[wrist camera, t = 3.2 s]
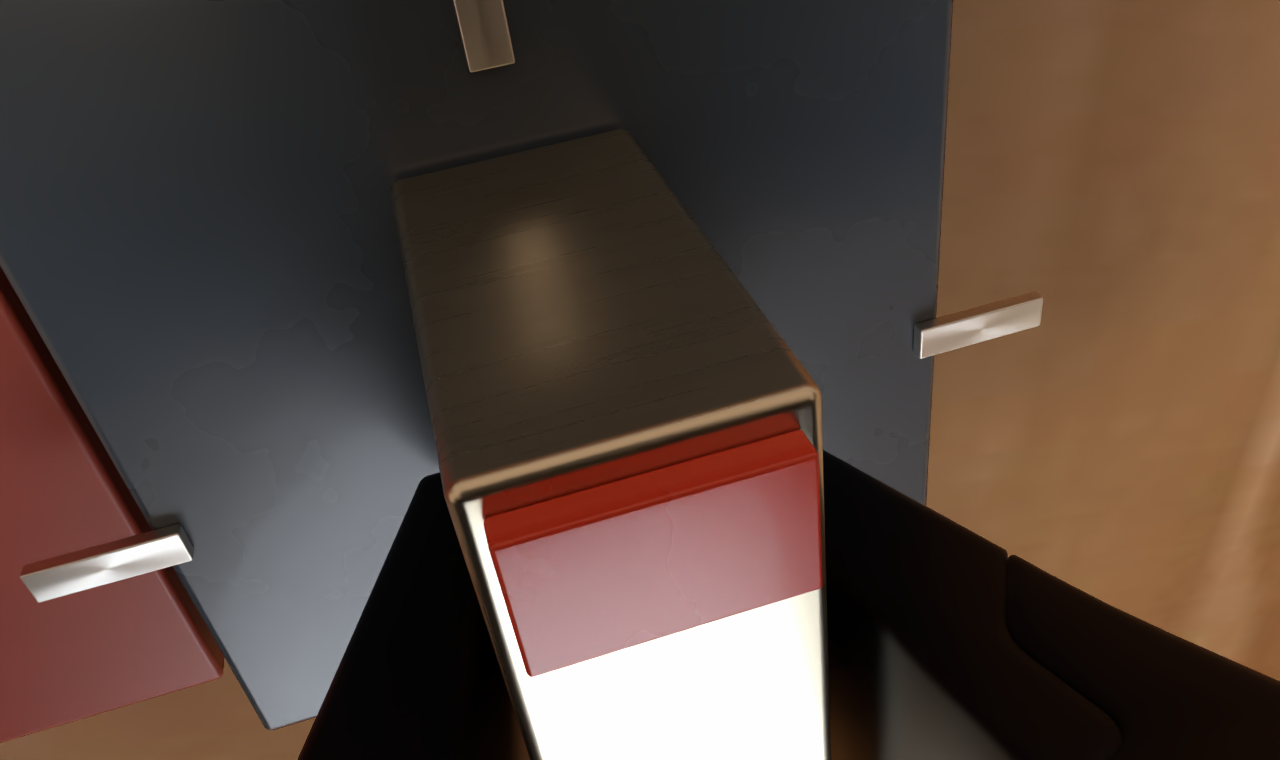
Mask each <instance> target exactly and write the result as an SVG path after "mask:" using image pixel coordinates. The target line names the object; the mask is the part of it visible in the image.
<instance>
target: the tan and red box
mask: <svg viewBox="0 0 1280 760" xmlns="http://www.w3.org/2000/svg"><path fill="white" fill-rule="evenodd" d="M391 196H392V202H393V207H394V213H395V219H396V225H397V230H398V236H399V242H400V247H401V253H402V259H403V264H404V270H405V276H406V282H407V287H408V293H409V299H410V304H411V310H412V316H413V322H414V327H415V333H416V339H417V344H418V350H419V356H420V361H421V367H422V373H423V379H424V384H425V390H426V396H427V401H428V407H429V413H430V419H431V424H432V430H433V436H434V441H435V447H436V453H437V458H438V464H439V470H440V476H441V481H442V487H443V493H444V498H445V501H446V504H447V507H448V510H449V513H450V516H451V519H452V522H453V525H454V528H455V531H456V534H457V537H458V540H459V544H460V547H461V550H462V553H463V556H464V559H465V562H466V565H467V568H468V571H469V574H470V577H471V580H472V583H473V586H474V589H475V592H476V595H477V599H478V602H479V605H480V608H481V611H482V614H483V617H484V620H485V623H486V626H487V629H488V632H489V635H490V638H491V641H492V644H493V647H494V651H495V654H496V657H497V660H498V663H499V666H500V669H501V672H502V675H503V678H504V681H505V684H506V687H507V690H508V693H509V696H510V699H511V702H512V706H513V709H514V712H515V715H516V718H517V721H518V724H519V727H520V730H521V733H522V736H523V739H524V742H525V745H526V748H527V751H528V754H529V757H530V760H831V736H830V699H829V663H828V627H827V590H826V554H825V517H824V481H823V444H822V408H821V391H820V390H819V388H818V386H817V385H816V383H815V382H814V380H813V379H812V378H811V376H810V375H809V374H808V372H807V371H806V370H805V368H804V367H803V366H802V364H801V363H800V362H799V360H798V359H797V357H796V356H795V355H794V353H793V352H792V351H791V349H790V348H789V347H788V345H787V344H786V343H785V341H784V340H783V339H782V337H781V336H780V335H779V333H778V332H777V331H776V329H775V328H774V327H773V325H772V324H771V323H770V321H769V320H768V319H767V317H766V316H765V315H764V313H763V312H762V310H761V309H760V308H759V306H758V305H757V304H756V302H755V301H754V300H753V298H752V297H751V296H750V294H749V293H748V292H747V290H746V289H745V288H744V286H743V285H742V284H741V282H740V281H739V280H738V278H737V277H736V276H735V274H734V273H733V272H732V270H731V269H730V268H729V266H728V265H727V263H726V262H725V261H724V259H723V258H722V257H721V255H720V254H719V253H718V251H717V250H716V249H715V247H714V246H713V245H712V243H711V242H710V241H709V239H708V238H707V237H706V235H705V234H704V233H703V231H702V230H701V229H700V227H699V226H698V225H697V223H696V222H695V221H694V219H693V218H692V216H691V215H690V214H689V212H688V211H687V210H686V208H685V207H684V206H683V204H682V203H681V202H680V200H679V199H678V198H677V196H676V195H675V194H674V192H673V191H672V190H671V188H670V187H669V186H668V184H667V183H666V182H665V180H664V179H663V178H662V176H661V175H660V174H659V172H658V171H657V169H656V168H655V167H654V165H653V164H652V163H651V161H650V160H649V159H648V157H647V156H646V155H645V153H644V152H643V151H642V149H641V148H640V147H639V145H638V144H637V143H636V141H635V140H634V139H633V137H632V136H631V135H630V133H629V132H628V131H627V130H621V129H618V130H613V131H609V132H605V133H600V134H596V135H592V136H587V137H583V138H579V139H574V140H570V141H566V142H561V143H557V144H553V145H548V146H544V147H539V148H535V149H531V150H526V151H522V152H518V153H513V154H509V155H505V156H500V157H496V158H492V159H487V160H483V161H479V162H474V163H470V164H466V165H461V166H457V167H453V168H448V169H444V170H440V171H435V172H431V173H426V174H422V175H418V176H413V177H409V178H405V179H400V180H398V181H397V182H395V183H394V184H393V185H392V190H391Z"/></svg>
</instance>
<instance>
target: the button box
mask: <svg viewBox="0 0 1280 760" xmlns="http://www.w3.org/2000/svg"><path fill="white" fill-rule="evenodd" d="M149 531H152V529H151V528H150V526H149V524H148V522H147V521H146V519H145V517H144V516H143V514H142V512H141V510H140V509H139V507H138V505H137V503H136V502H135V500H134V498H133V496H132V495H131V493H130V491H129V489H128V488H127V486H126V484H125V482H124V481H123V479H122V477H121V475H120V474H119V472H118V470H117V468H116V467H115V465H114V463H113V461H112V460H111V458H110V456H109V454H108V453H107V451H106V449H105V447H104V446H103V444H102V442H101V440H100V439H99V437H98V435H97V433H96V432H95V430H94V428H93V427H92V425H91V423H90V421H89V420H88V418H87V416H86V414H85V413H84V411H83V409H82V407H81V406H80V404H79V402H78V400H77V399H76V397H75V395H74V393H73V392H72V390H71V388H70V386H69V385H68V383H67V381H66V379H65V378H64V376H63V374H62V372H61V371H60V369H59V367H58V365H57V364H56V362H55V360H54V358H53V357H52V355H51V353H50V351H49V350H48V348H47V346H46V344H45V343H44V341H43V339H42V338H41V336H40V334H39V332H38V331H37V329H36V327H35V325H34V324H33V322H32V320H31V318H30V317H29V315H28V313H27V311H26V310H25V308H24V306H23V304H22V303H21V301H20V299H19V297H18V296H17V294H16V292H15V290H14V289H13V287H12V285H11V283H10V282H9V280H8V278H7V276H6V275H5V273H4V271H3V269H2V268H1V266H0V743H1V742H5V741H8V740H12V739H15V738H18V737H22V736H25V735H29V734H32V733H35V732H39V731H42V730H46V729H49V728H52V727H56V726H59V725H62V724H66V723H69V722H73V721H76V720H79V719H83V718H86V717H90V716H93V715H96V714H100V713H103V712H107V711H110V710H113V709H117V708H120V707H124V706H127V705H130V704H134V703H137V702H141V701H144V700H147V699H151V698H154V697H158V696H161V695H164V694H168V693H171V692H175V691H178V690H181V689H185V688H188V687H192V686H195V685H198V684H202V683H205V682H209V681H212V680H215V679H218V678H220V677H221V676H222V674H223V667H224V655H223V653H222V652H221V650H220V648H219V646H218V645H217V643H216V641H215V639H214V638H213V636H212V634H211V632H210V631H209V629H208V627H207V625H206V624H205V622H204V620H203V618H202V617H201V615H200V613H199V612H198V610H197V608H196V606H195V605H194V603H193V601H192V599H191V598H190V596H189V594H188V592H187V591H186V589H185V587H184V585H183V584H182V582H181V580H180V578H179V577H178V575H177V573H176V571H175V570H174V568H173V566H170V567H167V568H163V569H160V570H156V571H152V572H149V573H145V574H142V575H138V576H134V577H131V578H127V579H123V580H120V581H116V582H113V583H109V584H105V585H102V586H98V587H95V588H91V589H87V590H84V591H80V592H77V593H73V594H69V595H66V596H62V597H58V598H55V599H51V600H48V601H44V602H40V603H38V602H37V601H36V599H35V598H34V597H33V595H32V594H31V592H30V591H29V590H28V588H27V587H26V585H25V584H24V582H23V581H22V580H21V578H20V574H21V571H22V568H23V566H24V565H27V564H31V563H34V562H38V561H42V560H45V559H49V558H53V557H57V556H60V555H64V554H68V553H71V552H75V551H79V550H82V549H86V548H90V547H93V546H97V545H101V544H105V543H108V542H112V541H116V540H119V539H123V538H127V537H130V536H134V535H138V534H141V533H145V532H149Z"/></svg>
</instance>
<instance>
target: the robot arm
mask: <svg viewBox="0 0 1280 760" xmlns="http://www.w3.org/2000/svg"><path fill="white" fill-rule="evenodd" d="M823 481H824V517H825V554H826V590H827V627H828V663H829V699H830V736H831V760H1280V681H1277V680H1275V679H1273V678H1271V677H1268V676H1266V675H1264V674H1262V673H1259V672H1257V671H1255V670H1252V669H1250V668H1248V667H1246V666H1243V665H1241V664H1239V663H1237V662H1234V661H1232V660H1230V659H1228V658H1225V657H1223V656H1221V655H1218V654H1216V653H1214V652H1212V651H1209V650H1207V649H1205V648H1203V647H1200V646H1198V645H1196V644H1193V643H1191V642H1189V641H1187V640H1184V639H1182V638H1180V637H1178V636H1175V635H1173V634H1171V633H1169V632H1167V631H1164V630H1162V629H1160V628H1158V627H1156V626H1154V625H1152V624H1149V623H1147V622H1145V621H1143V620H1141V619H1139V618H1137V617H1134V616H1132V615H1130V614H1128V613H1126V612H1124V611H1121V610H1119V609H1117V608H1115V607H1113V606H1111V605H1109V604H1107V603H1105V602H1103V601H1101V600H1099V599H1097V598H1095V597H1093V596H1091V595H1089V594H1087V593H1085V592H1083V591H1082V590H1080V589H1078V588H1076V587H1074V586H1072V585H1070V584H1068V583H1066V582H1064V581H1062V580H1060V579H1058V578H1056V577H1055V576H1053V575H1051V574H1049V573H1047V572H1045V571H1043V570H1042V569H1040V568H1038V567H1036V566H1034V565H1033V564H1031V563H1029V562H1027V561H1025V560H1023V559H1022V558H1020V557H1018V556H1016V555H1011V556H1009V557H1008V553H1007V551H1006V550H1005V549H1003V548H1001V547H999V546H997V545H995V544H994V543H992V542H990V541H988V540H986V539H985V538H983V537H981V536H979V535H977V534H976V533H974V532H972V531H970V530H968V529H966V528H965V527H963V526H961V525H959V524H957V523H956V522H954V521H952V520H950V519H948V518H946V517H945V516H943V515H941V514H939V513H937V512H936V511H934V510H932V509H930V508H928V507H926V506H925V505H923V504H921V503H919V502H917V501H916V500H914V499H912V498H910V497H908V496H906V495H905V494H903V493H901V492H899V491H897V490H896V489H894V488H892V487H890V486H888V485H886V484H885V483H883V482H881V481H879V480H877V479H876V478H874V477H872V476H870V475H868V474H866V473H865V472H863V471H861V470H859V469H857V468H856V467H854V466H852V465H850V464H848V463H847V462H845V461H843V460H841V459H839V458H837V457H836V456H834V455H832V454H830V453H828V452H827V451H825V450H823ZM298 760H530V757H529V754H528V751H527V748H526V745H525V742H524V739H523V736H522V733H521V730H520V727H519V724H518V721H517V718H516V715H515V712H514V709H513V706H512V702H511V699H510V696H509V693H508V690H507V687H506V684H505V681H504V678H503V675H502V672H501V669H500V666H499V663H498V660H497V657H496V654H495V651H494V647H493V644H492V641H491V638H490V635H489V632H488V629H487V626H486V623H485V620H484V617H483V614H482V611H481V608H480V605H479V602H478V599H477V595H476V592H475V589H474V586H473V583H472V580H471V577H470V574H469V571H468V568H467V565H466V562H465V559H464V556H463V553H462V550H461V547H460V544H459V540H458V537H457V534H456V531H455V528H454V525H453V522H452V519H451V516H450V513H449V510H448V507H447V504H446V501H445V498H444V493H443V487H442V481H441V476H440V472H439V473H435V474H431V475H428V476H426V477H424V478H423V479H422V480H421V481H420V483H419V485H418V487H417V489H416V491H415V494H414V496H413V498H412V501H411V503H410V505H409V507H408V510H407V512H406V514H405V516H404V519H403V521H402V523H401V526H400V528H399V530H398V532H397V535H396V537H395V539H394V542H393V544H392V546H391V548H390V551H389V553H388V555H387V557H386V560H385V562H384V564H383V567H382V569H381V571H380V573H379V576H378V578H377V580H376V583H375V585H374V587H373V589H372V592H371V594H370V596H369V598H368V601H367V603H366V605H365V608H364V610H363V612H362V614H361V617H360V619H359V621H358V623H357V626H356V628H355V630H354V633H353V635H352V637H351V639H350V642H349V644H348V646H347V648H346V651H345V653H344V655H343V658H342V660H341V662H340V664H339V667H338V669H337V671H336V674H335V676H334V678H333V680H332V683H331V685H330V687H329V689H328V692H327V694H326V696H325V699H324V701H323V703H322V705H321V708H320V710H319V712H318V714H317V717H316V719H315V721H314V724H313V726H312V728H311V730H310V733H309V735H308V737H307V739H306V742H305V744H304V746H303V749H302V751H301V753H300V755H299V758H298Z"/></svg>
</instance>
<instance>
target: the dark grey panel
mask: <svg viewBox="0 0 1280 760" xmlns="http://www.w3.org/2000/svg"><path fill="white" fill-rule="evenodd" d="M952 10H953V0H0V266H1V268H2V269H3V271H4V273H5V275H6V276H7V278H8V280H9V282H10V283H11V285H12V287H13V289H14V290H15V292H16V294H17V296H18V297H19V299H20V301H21V303H22V304H23V306H24V308H25V310H26V311H27V313H28V315H29V317H30V318H31V320H32V322H33V324H34V325H35V327H36V329H37V331H38V332H39V334H40V336H41V338H42V339H43V341H44V343H45V344H46V346H47V348H48V350H49V351H50V353H51V355H52V357H53V358H54V360H55V362H56V364H57V365H58V367H59V369H60V371H61V372H62V374H63V376H64V378H65V379H66V381H67V383H68V385H69V386H70V388H71V390H72V392H73V393H74V395H75V397H76V399H77V400H78V402H79V404H80V406H81V407H82V409H83V411H84V413H85V414H86V416H87V418H88V420H89V421H90V423H91V425H92V427H93V428H94V430H95V432H96V433H97V435H98V437H99V439H100V440H101V442H102V444H103V446H104V447H105V449H106V451H107V453H108V454H109V456H110V458H111V460H112V461H113V463H114V465H115V467H116V468H117V470H118V472H119V474H120V475H121V477H122V479H123V481H124V482H125V484H126V486H127V488H128V489H129V491H130V493H131V495H132V496H133V498H134V500H135V502H136V503H137V505H138V507H139V509H140V510H141V512H142V514H143V516H144V517H145V519H146V521H147V522H148V524H149V526H150V528H151V529H152V531H149V532H145V533H141V534H138V535H134V536H130V537H127V538H123V539H119V540H116V541H112V542H108V543H105V544H101V545H97V546H93V547H90V548H86V549H82V550H79V551H75V552H71V553H68V554H64V555H60V556H57V557H53V558H49V559H45V560H42V561H38V562H34V563H31V564H27V565H24V566H23V568H22V571H21V574H20V578H21V580H22V581H23V582H24V584H25V585H26V587H27V588H28V590H29V591H30V592H31V594H32V595H33V597H34V598H35V599H36V601H37V602H38V603H40V602H44V601H48V600H51V599H55V598H58V597H62V596H66V595H69V594H73V593H77V592H80V591H84V590H87V589H91V588H95V587H98V586H102V585H105V584H109V583H113V582H116V581H120V580H123V579H127V578H131V577H134V576H138V575H142V574H145V573H149V572H152V571H156V570H160V569H163V568H167V567H170V566H173V568H174V570H175V571H176V573H177V575H178V577H179V578H180V580H181V582H182V584H183V585H184V587H185V589H186V591H187V592H188V594H189V596H190V598H191V599H192V601H193V603H194V605H195V606H196V608H197V610H198V612H199V613H200V615H201V617H202V618H203V620H204V622H205V624H206V625H207V627H208V629H209V631H210V632H211V634H212V636H213V638H214V639H215V641H216V643H217V645H218V646H219V648H220V650H221V652H222V653H223V655H224V657H225V659H226V660H227V662H228V664H229V666H230V667H231V669H232V671H233V673H234V674H235V676H236V678H237V680H238V681H239V683H240V685H241V687H242V688H243V690H244V692H245V694H246V695H247V697H248V699H249V701H250V702H251V704H252V706H253V707H254V709H255V711H256V713H257V714H258V716H259V718H260V720H261V721H262V723H263V725H264V727H265V728H266V729H268V730H276V729H279V728H282V727H285V726H289V725H292V724H295V723H299V722H302V721H305V720H308V719H312V718H315V717H317V714H318V712H319V710H320V708H321V705H322V703H323V701H324V699H325V696H326V694H327V692H328V689H329V687H330V685H331V683H332V680H333V678H334V676H335V674H336V671H337V669H338V667H339V664H340V662H341V660H342V658H343V655H344V653H345V651H346V648H347V646H348V644H349V642H350V639H351V637H352V635H353V633H354V630H355V628H356V626H357V623H358V621H359V619H360V617H361V614H362V612H363V610H364V608H365V605H366V603H367V601H368V598H369V596H370V594H371V592H372V589H373V587H374V585H375V583H376V580H377V578H378V576H379V573H380V571H381V569H382V567H383V564H384V562H385V560H386V557H387V555H388V553H389V551H390V548H391V546H392V544H393V542H394V539H395V537H396V535H397V532H398V530H399V528H400V526H401V523H402V521H403V519H404V516H405V514H406V512H407V510H408V507H409V505H410V503H411V501H412V498H413V496H414V494H415V491H416V489H417V487H418V485H419V483H420V481H421V480H422V479H423V478H424V477H426V476H428V475H431V474H435V473H439V472H440V470H439V464H438V458H437V453H436V447H435V441H434V436H433V430H432V424H431V419H430V413H429V407H428V401H427V396H426V390H425V384H424V379H423V373H422V367H421V361H420V356H419V350H418V344H417V339H416V333H415V327H414V322H413V316H412V310H411V304H410V299H409V293H408V287H407V282H406V276H405V270H404V264H403V259H402V253H401V247H400V242H399V236H398V230H397V225H396V219H395V213H394V207H393V202H392V196H391V190H392V185H393V184H394V183H395V182H397V181H398V180H400V179H405V178H409V177H413V176H418V175H422V174H426V173H431V172H435V171H440V170H444V169H448V168H453V167H457V166H461V165H466V164H470V163H474V162H479V161H483V160H487V159H492V158H496V157H500V156H505V155H509V154H513V153H518V152H522V151H526V150H531V149H535V148H539V147H544V146H548V145H553V144H557V143H561V142H566V141H570V140H574V139H579V138H583V137H587V136H592V135H596V134H600V133H605V132H609V131H613V130H618V129H621V130H627V131H628V132H629V133H630V135H631V136H632V137H633V139H634V140H635V141H636V143H637V144H638V145H639V147H640V148H641V149H642V151H643V152H644V153H645V155H646V156H647V157H648V159H649V160H650V161H651V163H652V164H653V165H654V167H655V168H656V169H657V171H658V172H659V174H660V175H661V176H662V178H663V179H664V180H665V182H666V183H667V184H668V186H669V187H670V188H671V190H672V191H673V192H674V194H675V195H676V196H677V198H678V199H679V200H680V202H681V203H682V204H683V206H684V207H685V208H686V210H687V211H688V212H689V214H690V215H691V216H692V218H693V219H694V221H695V222H696V223H697V225H698V226H699V227H700V229H701V230H702V231H703V233H704V234H705V235H706V237H707V238H708V239H709V241H710V242H711V243H712V245H713V246H714V247H715V249H716V250H717V251H718V253H719V254H720V255H721V257H722V258H723V259H724V261H725V262H726V263H727V265H728V266H729V268H730V269H731V270H732V272H733V273H734V274H735V276H736V277H737V278H738V280H739V281H740V282H741V284H742V285H743V286H744V288H745V289H746V290H747V292H748V293H749V294H750V296H751V297H752V298H753V300H754V301H755V302H756V304H757V305H758V306H759V308H760V309H761V310H762V312H763V313H764V315H765V316H766V317H767V319H768V320H769V321H770V323H771V324H772V325H773V327H774V328H775V329H776V331H777V332H778V333H779V335H780V336H781V337H782V339H783V340H784V341H785V343H786V344H787V345H788V347H789V348H790V349H791V351H792V352H793V353H794V355H795V356H796V357H797V359H798V360H799V362H800V363H801V364H802V366H803V367H804V368H805V370H806V371H807V372H808V374H809V375H810V376H811V378H812V379H813V380H814V382H815V383H816V385H817V386H818V388H819V390H820V391H821V408H822V444H823V450H825V451H827V452H828V453H830V454H832V455H834V456H836V457H837V458H839V459H841V460H843V461H845V462H847V463H848V464H850V465H852V466H854V467H856V468H857V469H859V470H861V471H863V472H865V473H866V474H868V475H870V476H872V477H874V478H876V479H877V480H879V481H881V482H883V483H885V484H886V485H888V486H890V487H892V488H894V489H896V490H897V491H899V492H901V493H903V494H905V495H906V496H908V497H910V498H912V499H914V500H916V501H917V502H919V503H921V504H923V505H925V506H926V497H927V478H928V459H929V440H930V422H931V403H932V384H933V366H934V355H936V354H940V353H944V352H947V351H951V350H954V349H958V348H962V347H965V346H969V345H973V344H976V343H980V342H983V341H987V340H991V339H994V338H998V337H1001V336H1005V335H1009V334H1012V333H1016V332H1020V331H1023V330H1027V329H1030V328H1034V327H1038V326H1040V323H1041V315H1042V307H1043V297H1042V296H1041V295H1040V294H1038V293H1037V292H1030V293H1027V294H1023V295H1019V296H1016V297H1012V298H1008V299H1005V300H1001V301H997V302H994V303H990V304H986V305H983V306H979V307H975V308H971V309H968V310H964V311H960V312H957V313H953V314H949V315H946V316H942V317H938V318H936V310H937V291H938V272H939V254H940V235H941V216H942V197H943V179H944V160H945V141H946V123H947V104H948V85H949V67H950V48H951V29H952Z"/></svg>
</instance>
